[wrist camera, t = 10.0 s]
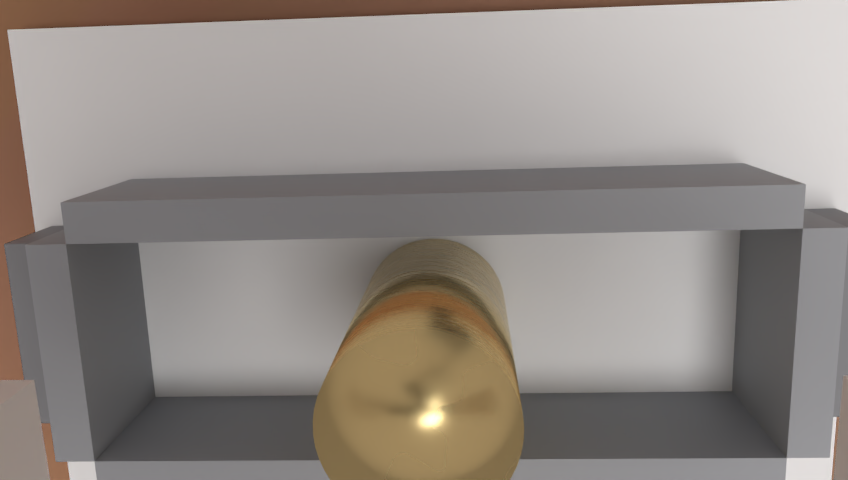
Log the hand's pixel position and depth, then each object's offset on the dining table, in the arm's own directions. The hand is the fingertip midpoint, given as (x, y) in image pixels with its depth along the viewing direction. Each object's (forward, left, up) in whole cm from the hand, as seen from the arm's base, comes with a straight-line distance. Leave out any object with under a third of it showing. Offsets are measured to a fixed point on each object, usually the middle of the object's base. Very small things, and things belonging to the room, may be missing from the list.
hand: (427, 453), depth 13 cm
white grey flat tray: (0, 0, -11) cm, 11 cm away
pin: (+1, 0, -10) cm, 10 cm away
